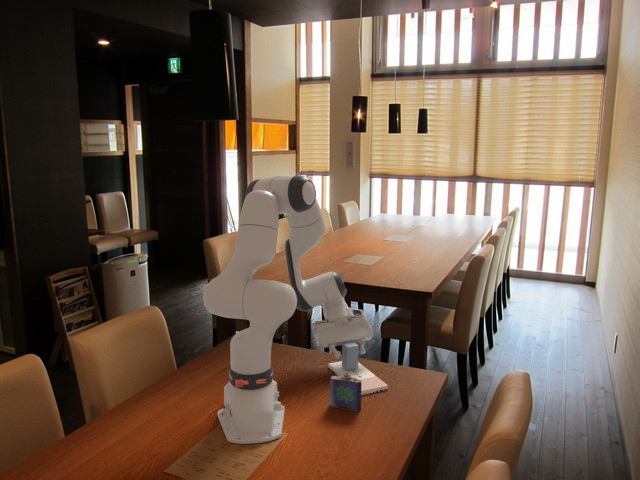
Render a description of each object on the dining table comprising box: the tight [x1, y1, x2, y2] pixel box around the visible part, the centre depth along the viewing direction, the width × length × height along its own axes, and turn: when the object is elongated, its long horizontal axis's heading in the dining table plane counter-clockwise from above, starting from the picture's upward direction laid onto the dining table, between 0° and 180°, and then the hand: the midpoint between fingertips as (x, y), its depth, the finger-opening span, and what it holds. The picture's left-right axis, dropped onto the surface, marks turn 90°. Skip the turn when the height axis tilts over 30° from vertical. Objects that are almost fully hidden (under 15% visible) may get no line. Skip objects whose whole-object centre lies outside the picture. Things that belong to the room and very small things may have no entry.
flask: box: [329, 372, 362, 412], centre depth 154 cm, size 9×3×11 cm, turn 73°
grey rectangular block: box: [341, 341, 360, 370], centre depth 177 cm, size 4×4×8 cm
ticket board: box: [327, 360, 389, 396], centre depth 173 cm, size 22×10×1 cm, turn 25°
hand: (351, 355), depth 176 cm, fingers open, 8 cm apart
